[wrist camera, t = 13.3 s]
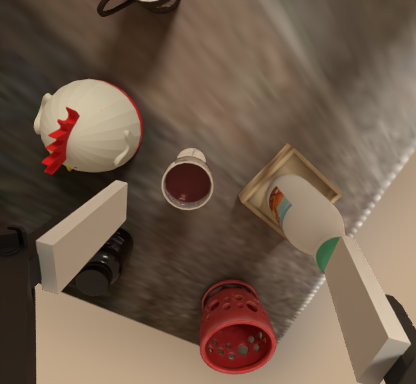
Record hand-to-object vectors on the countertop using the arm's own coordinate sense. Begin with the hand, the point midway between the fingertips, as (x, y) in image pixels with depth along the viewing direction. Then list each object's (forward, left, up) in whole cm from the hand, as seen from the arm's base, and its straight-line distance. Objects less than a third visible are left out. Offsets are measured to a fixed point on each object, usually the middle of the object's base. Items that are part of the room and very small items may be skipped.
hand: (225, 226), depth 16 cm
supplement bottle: (+26, -1, -30) cm, 40 cm away
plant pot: (+22, +25, -30) cm, 45 cm away
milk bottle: (-2, +16, -29) cm, 33 cm away
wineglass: (+5, 0, -30) cm, 31 cm away
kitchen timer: (+10, -15, -30) cm, 35 cm away
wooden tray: (-2, +16, -30) cm, 34 cm away
